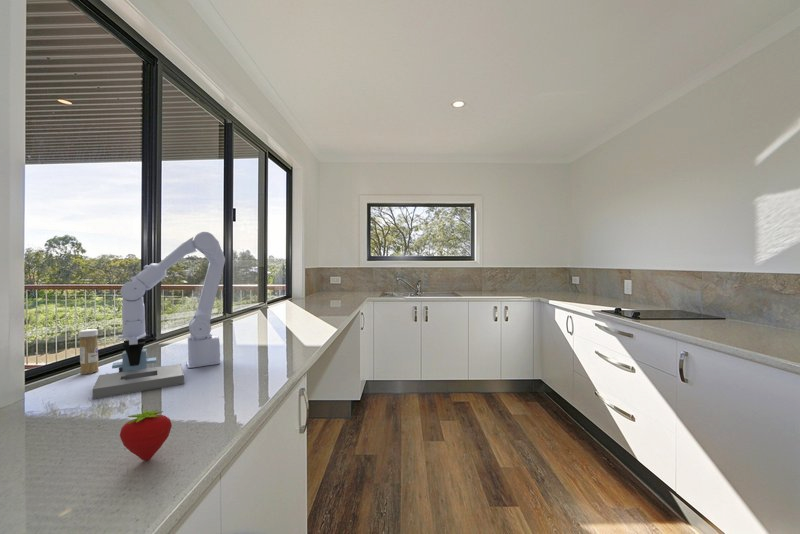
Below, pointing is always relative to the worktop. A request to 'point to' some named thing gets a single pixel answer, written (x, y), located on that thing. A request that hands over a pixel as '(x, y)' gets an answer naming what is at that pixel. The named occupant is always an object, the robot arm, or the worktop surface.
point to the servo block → (143, 363)
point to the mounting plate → (138, 380)
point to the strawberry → (145, 433)
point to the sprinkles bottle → (88, 351)
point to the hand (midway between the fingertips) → (135, 363)
